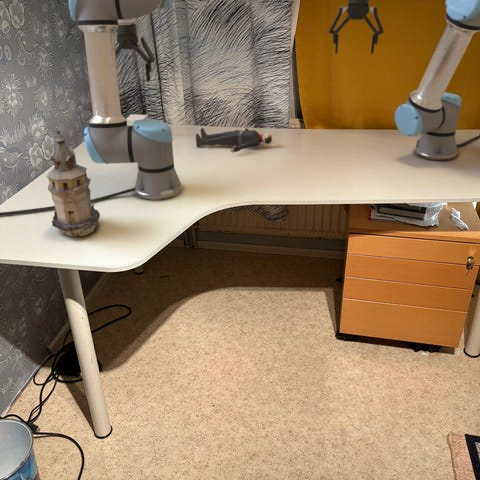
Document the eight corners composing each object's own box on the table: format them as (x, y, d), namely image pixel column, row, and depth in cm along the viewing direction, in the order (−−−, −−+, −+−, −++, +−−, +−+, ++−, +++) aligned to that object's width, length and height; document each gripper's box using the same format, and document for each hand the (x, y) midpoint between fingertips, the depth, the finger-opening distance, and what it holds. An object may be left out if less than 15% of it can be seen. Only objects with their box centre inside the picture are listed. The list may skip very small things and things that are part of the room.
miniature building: (80, 214, 164) (63, 117, 149) (111, 225, 157) (96, 125, 142) (44, 231, 154) (22, 130, 140) (75, 244, 147) (55, 139, 133)
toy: (206, 121, 227) (276, 121, 221) (207, 135, 230) (276, 136, 224) (189, 141, 205) (266, 142, 199) (190, 156, 208) (267, 158, 202)
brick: (149, 134, 230) (147, 114, 226) (144, 140, 223) (142, 120, 219) (133, 134, 231) (130, 114, 227) (127, 140, 224) (124, 119, 220)
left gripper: (160, 22, 206) (164, 78, 216) (98, 22, 210) (105, 77, 220) (154, 24, 200) (159, 82, 210) (91, 24, 203) (98, 81, 213)
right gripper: (393, -9, 198) (386, 51, 208) (324, -9, 201) (321, 50, 211) (395, -7, 191) (388, 55, 202) (324, -7, 195) (321, 54, 205)
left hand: (132, 80), depth 215 cm, fingers open, 13 cm apart
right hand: (354, 52), depth 207 cm, fingers open, 13 cm apart
